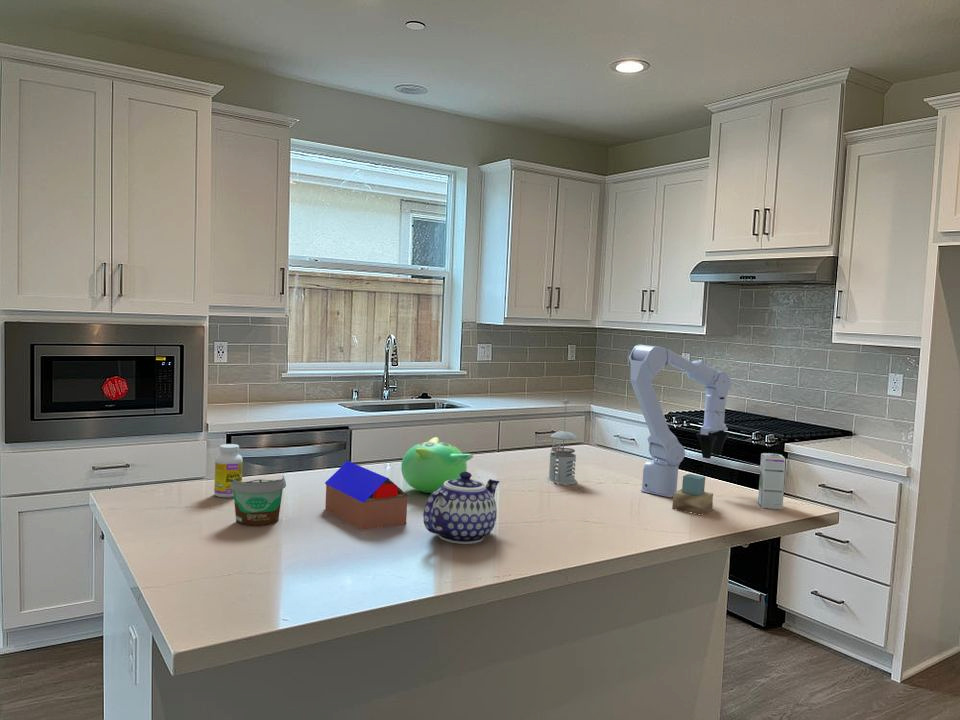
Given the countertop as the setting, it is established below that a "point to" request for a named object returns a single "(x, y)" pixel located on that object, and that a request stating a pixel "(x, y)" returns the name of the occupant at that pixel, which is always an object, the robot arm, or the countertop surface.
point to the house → (365, 498)
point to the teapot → (462, 510)
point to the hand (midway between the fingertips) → (711, 456)
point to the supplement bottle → (227, 470)
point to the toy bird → (433, 465)
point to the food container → (257, 501)
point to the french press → (562, 458)
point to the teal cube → (693, 484)
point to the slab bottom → (692, 508)
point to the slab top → (693, 499)
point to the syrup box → (771, 481)
